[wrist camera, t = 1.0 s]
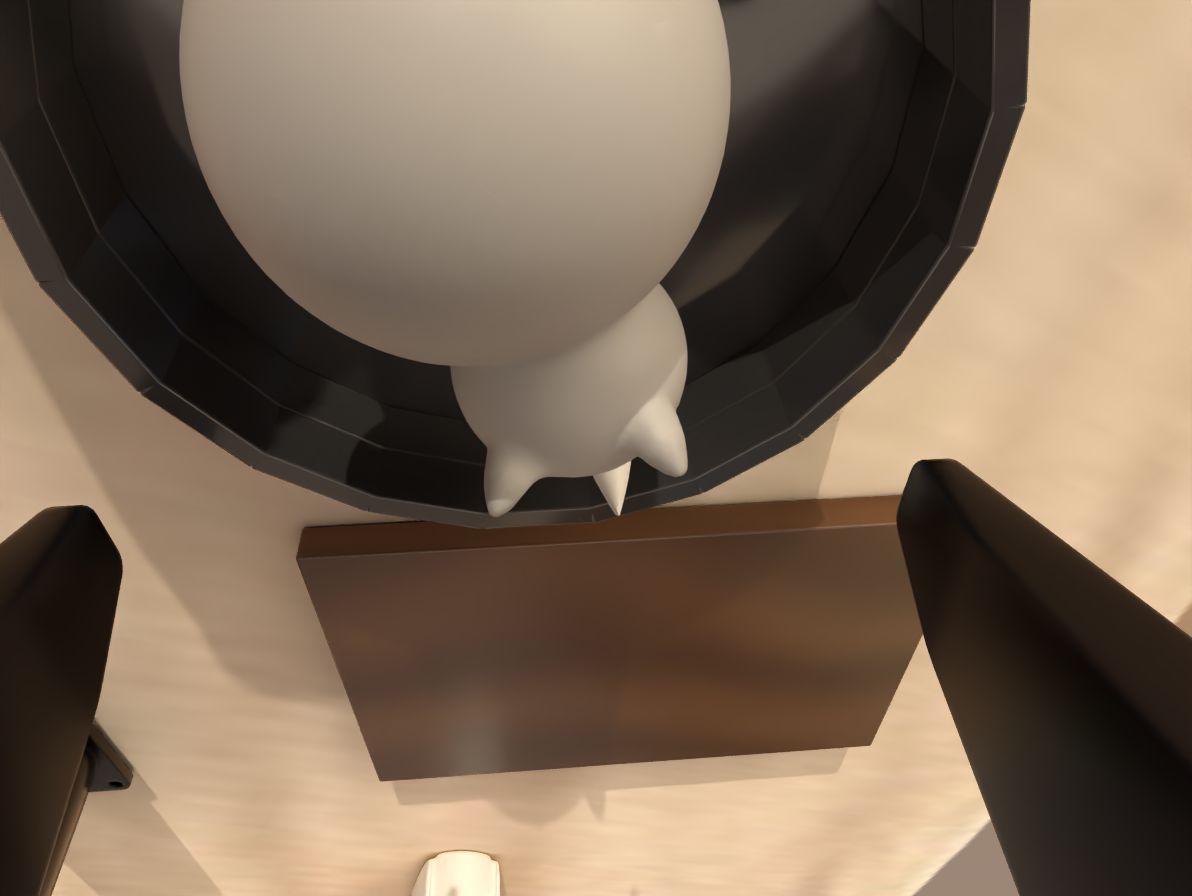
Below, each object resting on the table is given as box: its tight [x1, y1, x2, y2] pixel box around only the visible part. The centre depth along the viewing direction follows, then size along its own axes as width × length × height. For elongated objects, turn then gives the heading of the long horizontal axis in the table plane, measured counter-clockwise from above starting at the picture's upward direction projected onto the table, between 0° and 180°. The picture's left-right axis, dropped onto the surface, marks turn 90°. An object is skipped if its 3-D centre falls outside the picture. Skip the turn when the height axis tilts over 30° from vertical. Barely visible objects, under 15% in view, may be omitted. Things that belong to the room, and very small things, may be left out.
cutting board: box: [296, 495, 923, 781], centre depth 30 cm, size 14×20×1 cm
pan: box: [0, 0, 1031, 529], centre depth 16 cm, size 17×17×4 cm
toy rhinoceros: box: [179, 0, 731, 517], centre depth 14 cm, size 7×12×8 cm, turn 14°
